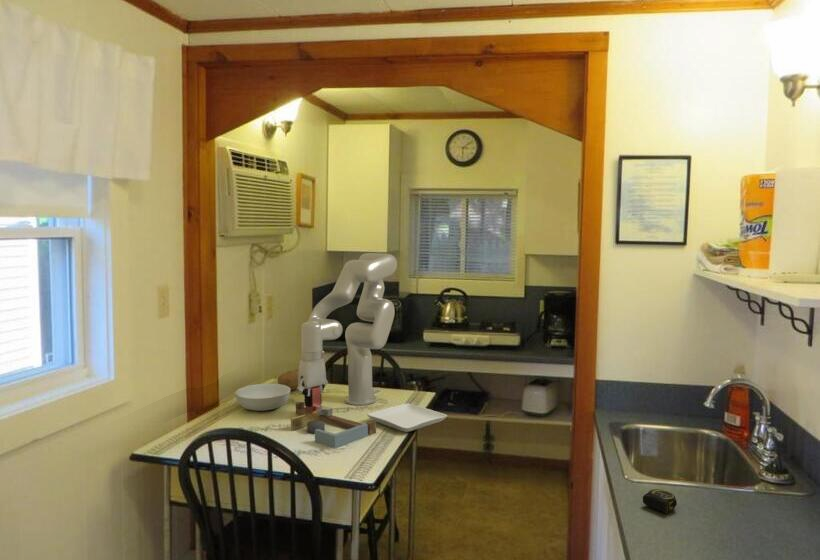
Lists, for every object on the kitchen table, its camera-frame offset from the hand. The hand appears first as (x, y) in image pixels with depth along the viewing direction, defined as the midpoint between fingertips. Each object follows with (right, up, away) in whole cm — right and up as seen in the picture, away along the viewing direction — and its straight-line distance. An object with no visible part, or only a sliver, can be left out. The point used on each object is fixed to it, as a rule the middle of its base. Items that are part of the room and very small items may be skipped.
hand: (313, 404), depth 233 cm
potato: (-15, -2, +39) cm, 42 cm away
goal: (+13, -7, -23) cm, 28 cm away
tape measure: (+98, -12, -75) cm, 124 cm away
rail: (+8, -5, -6) cm, 12 cm away
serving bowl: (-21, -4, +13) cm, 25 cm away
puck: (+3, -6, -15) cm, 17 cm away
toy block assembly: (-1, -5, -7) cm, 9 cm away
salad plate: (+35, -6, -6) cm, 35 cm away
